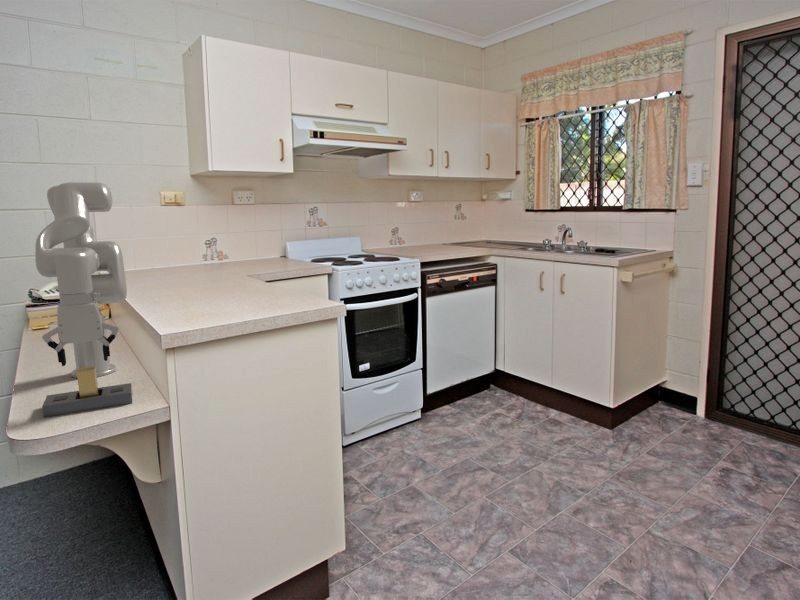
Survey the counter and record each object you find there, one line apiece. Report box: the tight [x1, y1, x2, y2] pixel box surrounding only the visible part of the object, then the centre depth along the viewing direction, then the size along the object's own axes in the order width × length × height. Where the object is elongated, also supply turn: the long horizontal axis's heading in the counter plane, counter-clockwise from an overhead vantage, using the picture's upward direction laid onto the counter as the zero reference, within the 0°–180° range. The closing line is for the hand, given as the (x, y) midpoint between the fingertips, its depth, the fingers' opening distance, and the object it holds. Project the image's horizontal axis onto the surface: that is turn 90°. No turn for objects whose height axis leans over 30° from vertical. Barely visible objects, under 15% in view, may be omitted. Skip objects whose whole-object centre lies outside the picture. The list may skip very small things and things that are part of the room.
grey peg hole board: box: [41, 382, 133, 419], centre depth 141 cm, size 9×20×3 cm, turn 117°
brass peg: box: [76, 366, 99, 399], centre depth 140 cm, size 4×4×10 cm
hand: (85, 361), depth 140 cm, fingers open, 9 cm apart
